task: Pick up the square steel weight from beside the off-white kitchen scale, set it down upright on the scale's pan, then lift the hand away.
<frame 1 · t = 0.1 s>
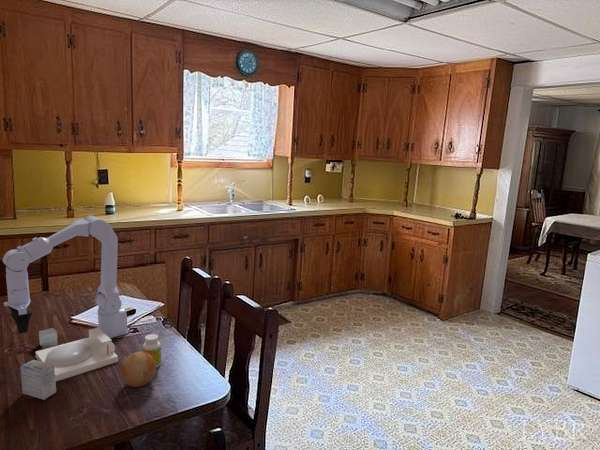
hand: (21, 328, 139), 10 cm above the table, tool pointing down, fingers open, 7 cm apart
steel weight: (48, 345, 150), on the table
onion: (138, 384, 130), on the table
supplement bottle: (152, 365, 141), on the table
medicine box: (39, 394, 123), on the table
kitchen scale: (76, 359, 141), on the table
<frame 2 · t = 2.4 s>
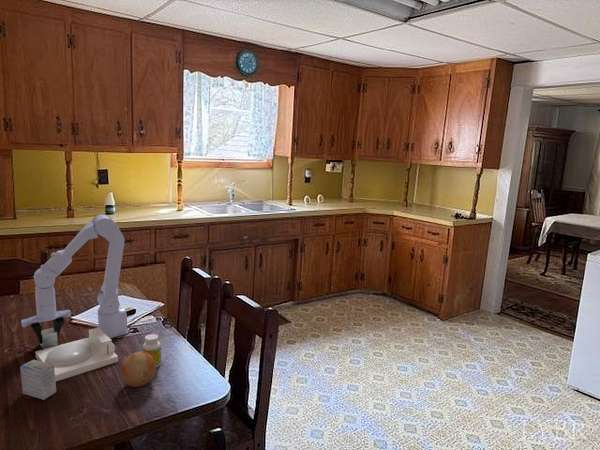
hand: (48, 340, 149), 2 cm above the table, tool pointing down, fingers closed on steel weight, 4 cm apart
steel weight: (48, 345, 150), on the table, touching gripper
everything else where it was.
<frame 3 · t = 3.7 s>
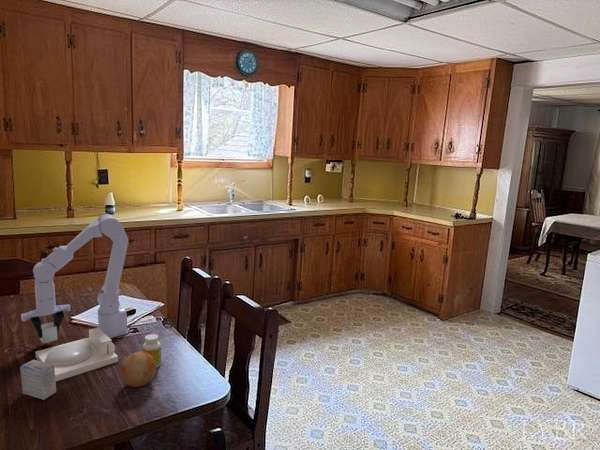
hand: (48, 335, 149), 4 cm above the table, tool pointing down, fingers closed on steel weight, 4 cm apart
steel weight: (48, 339, 149), point 2 cm above the table, touching gripper
everything else where it was.
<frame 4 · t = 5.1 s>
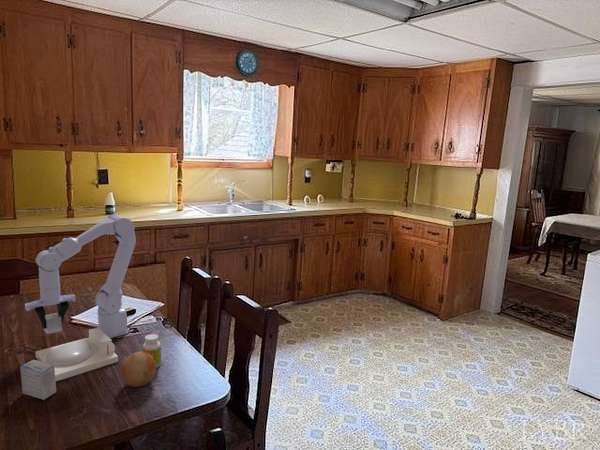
hand: (52, 325, 146), 9 cm above the table, tool pointing down, fingers closed on steel weight, 4 cm apart
steel weight: (52, 330, 146), point 7 cm above the table, touching gripper
everything else where it was.
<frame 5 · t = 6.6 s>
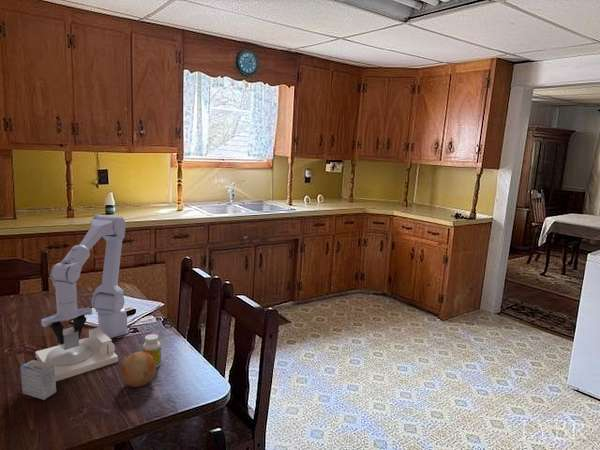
hand: (69, 340, 139), 7 cm above the table, tool pointing down, fingers closed on steel weight, 4 cm apart
steel weight: (69, 345, 139), point 5 cm above the table, touching gripper
everything else where it was.
when the fingers open (6 cm above the table, at t = 7.7 s): steel weight drops 1 cm, resting on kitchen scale.
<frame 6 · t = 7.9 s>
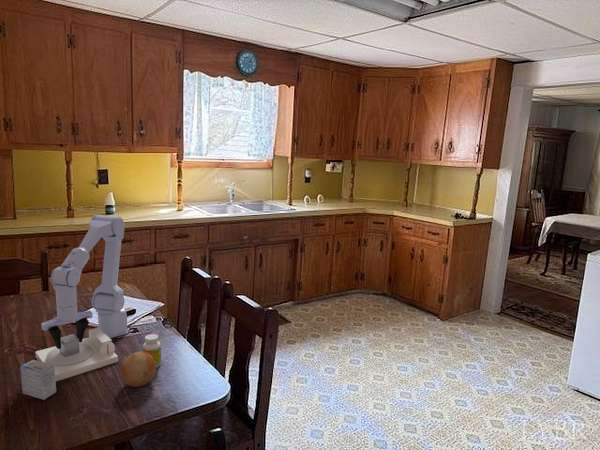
hand: (69, 344, 139), 6 cm above the table, tool pointing down, fingers open, 6 cm apart
steel weight: (69, 352, 140), point 3 cm above the table, touching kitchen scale
everything else where it was.
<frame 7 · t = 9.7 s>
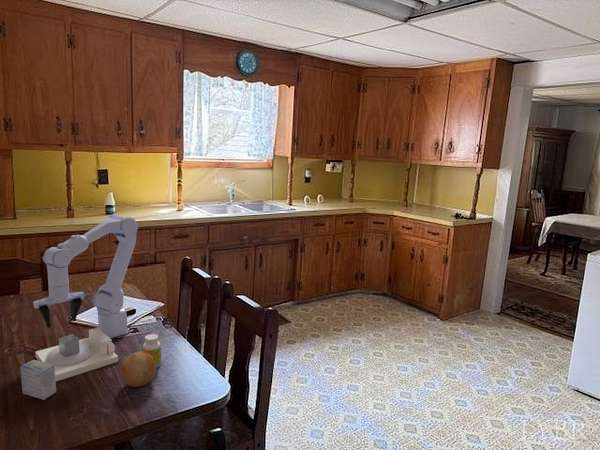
hand: (61, 323, 143), 10 cm above the table, tool pointing down, fingers open, 7 cm apart
nothing on the table moved.
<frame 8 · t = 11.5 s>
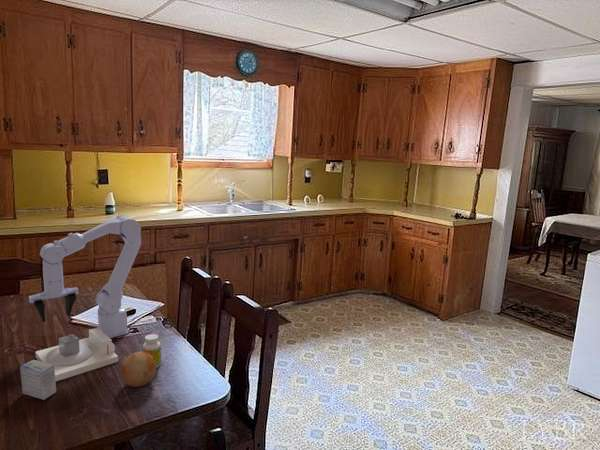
hand: (56, 318, 147), 10 cm above the table, tool pointing down, fingers open, 7 cm apart
nothing on the table moved.
at the end: steel weight inside the target area on the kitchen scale (0.2 cm from its centre), point 3.0 cm above the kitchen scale's base; steel weight tilted 0°; the gripper is holding nothing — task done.
